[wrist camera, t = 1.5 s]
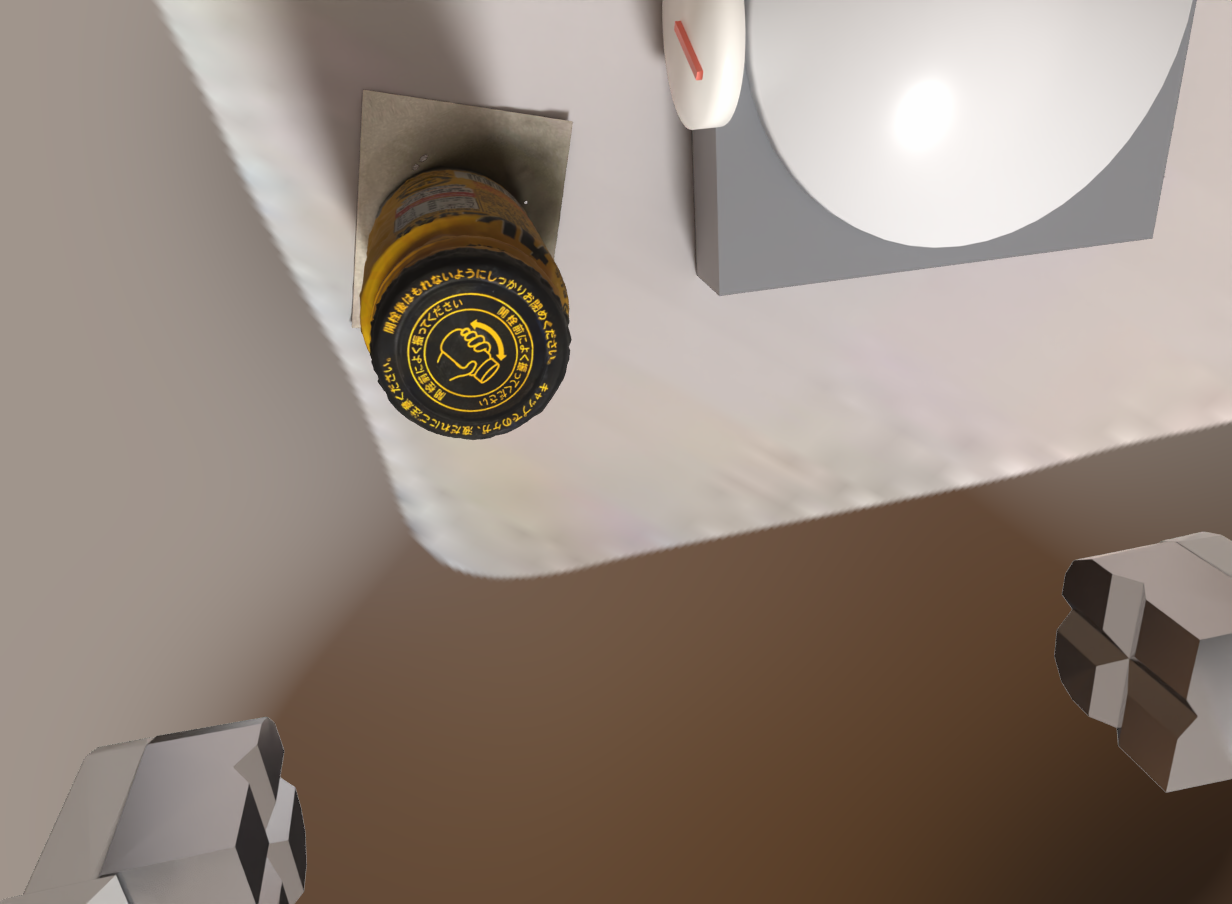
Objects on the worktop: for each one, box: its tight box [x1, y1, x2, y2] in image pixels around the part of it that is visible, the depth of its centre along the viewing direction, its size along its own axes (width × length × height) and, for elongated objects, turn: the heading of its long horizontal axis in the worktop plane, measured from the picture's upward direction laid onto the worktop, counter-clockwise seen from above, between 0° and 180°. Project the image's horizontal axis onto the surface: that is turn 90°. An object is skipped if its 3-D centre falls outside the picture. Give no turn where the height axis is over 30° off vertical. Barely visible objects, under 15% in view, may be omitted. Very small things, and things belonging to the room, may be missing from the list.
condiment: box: [352, 90, 573, 440], centre depth 29 cm, size 7×8×12 cm
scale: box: [662, 0, 1197, 296], centre depth 32 cm, size 18×19×6 cm
